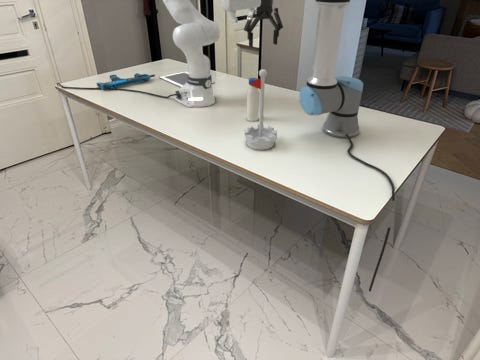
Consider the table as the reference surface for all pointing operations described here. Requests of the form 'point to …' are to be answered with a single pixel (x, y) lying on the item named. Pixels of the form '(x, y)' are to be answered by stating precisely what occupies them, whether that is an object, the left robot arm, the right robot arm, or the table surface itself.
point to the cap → (252, 80)
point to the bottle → (252, 104)
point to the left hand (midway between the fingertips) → (242, 21)
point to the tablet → (177, 78)
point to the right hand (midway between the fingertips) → (263, 45)
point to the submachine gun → (124, 81)
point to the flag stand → (260, 122)
